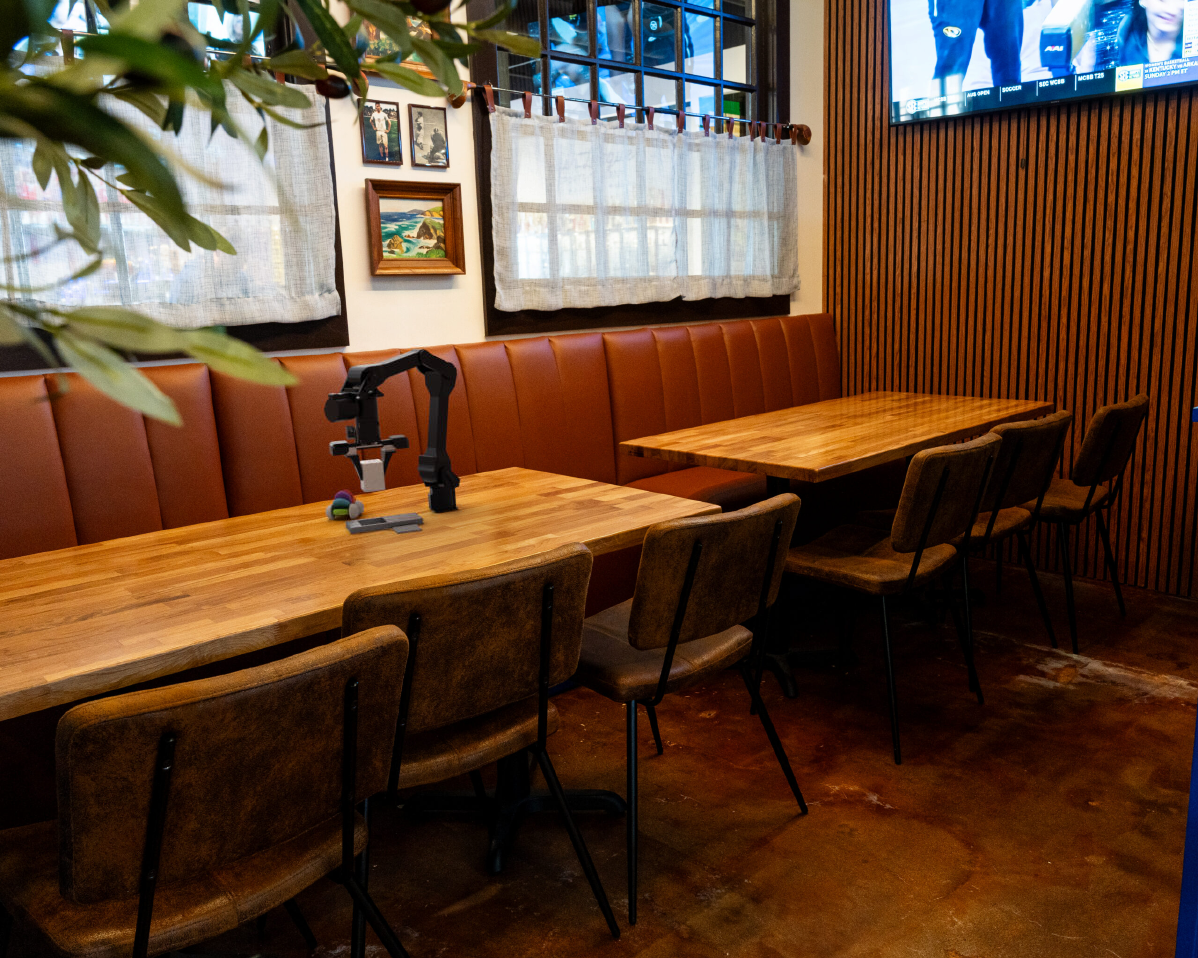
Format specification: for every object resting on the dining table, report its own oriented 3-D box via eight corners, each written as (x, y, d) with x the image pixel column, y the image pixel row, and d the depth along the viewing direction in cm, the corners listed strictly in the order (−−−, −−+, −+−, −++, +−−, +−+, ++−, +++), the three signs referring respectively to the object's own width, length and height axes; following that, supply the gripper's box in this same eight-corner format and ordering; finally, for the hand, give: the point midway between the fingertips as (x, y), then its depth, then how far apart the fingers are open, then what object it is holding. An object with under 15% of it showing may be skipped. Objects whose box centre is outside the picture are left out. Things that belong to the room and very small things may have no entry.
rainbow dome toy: (367, 512, 265) (364, 486, 264) (355, 521, 256) (352, 494, 255) (336, 513, 266) (334, 487, 265) (323, 521, 257) (320, 494, 255)
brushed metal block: (381, 486, 249) (378, 459, 247) (385, 489, 244) (382, 462, 243) (361, 488, 247) (358, 461, 245) (364, 492, 242) (362, 464, 241)
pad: (416, 525, 248) (415, 523, 248) (421, 530, 242) (421, 528, 242) (392, 528, 245) (392, 527, 245) (397, 533, 240) (397, 532, 240)
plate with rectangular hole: (415, 517, 256) (415, 512, 256) (423, 524, 249) (422, 518, 249) (345, 527, 249) (345, 521, 249) (351, 533, 242) (350, 527, 242)
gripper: (397, 410, 253) (402, 470, 256) (323, 417, 246) (329, 478, 249) (407, 414, 243) (412, 476, 246) (329, 422, 236) (336, 485, 239)
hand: (372, 479), depth 245 cm, fingers closed on brushed metal block, 5 cm apart
